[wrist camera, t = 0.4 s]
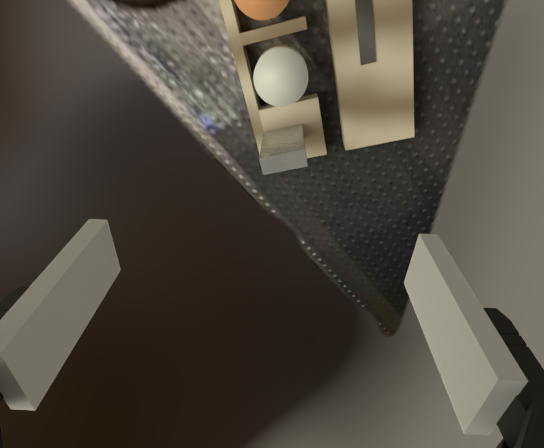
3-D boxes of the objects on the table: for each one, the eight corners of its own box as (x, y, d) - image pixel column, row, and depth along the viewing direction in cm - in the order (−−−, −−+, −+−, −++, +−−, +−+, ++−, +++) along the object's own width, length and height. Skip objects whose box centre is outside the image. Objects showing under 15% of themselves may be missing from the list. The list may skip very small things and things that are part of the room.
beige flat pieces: (192, -120, 28) (185, -128, 26) (401, -191, 25) (409, -205, 24) (264, 159, 40) (263, 167, 39) (408, 130, 38) (414, 137, 36)
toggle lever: (263, 131, 37) (258, 158, 31) (301, 123, 36) (304, 149, 30) (267, 146, 37) (263, 174, 32) (304, 138, 37) (307, 166, 31)
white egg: (250, 51, 32) (247, 55, 30) (301, 38, 32) (303, 41, 29) (262, 104, 35) (260, 111, 32) (310, 92, 34) (312, 100, 32)
